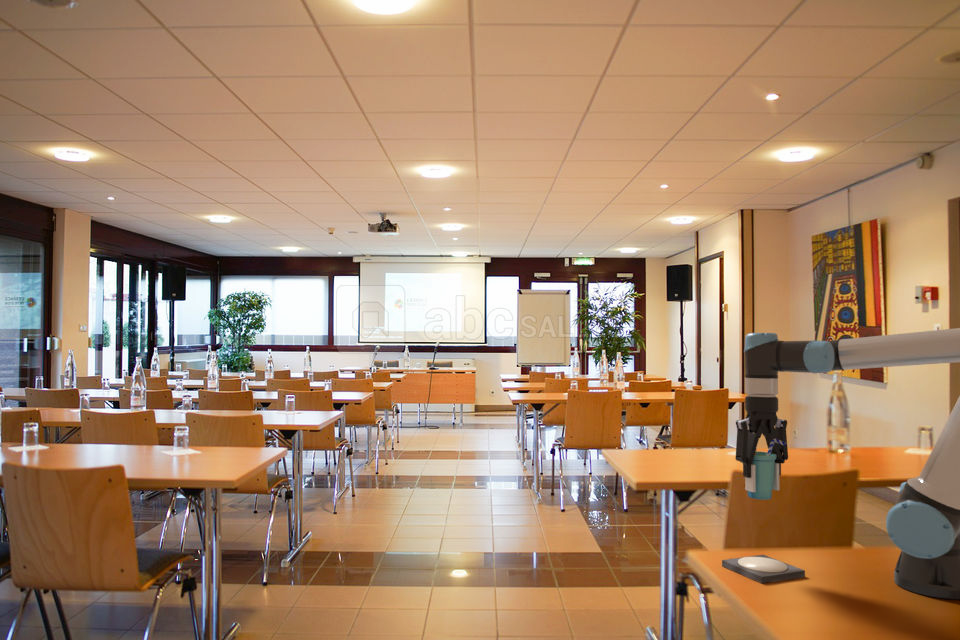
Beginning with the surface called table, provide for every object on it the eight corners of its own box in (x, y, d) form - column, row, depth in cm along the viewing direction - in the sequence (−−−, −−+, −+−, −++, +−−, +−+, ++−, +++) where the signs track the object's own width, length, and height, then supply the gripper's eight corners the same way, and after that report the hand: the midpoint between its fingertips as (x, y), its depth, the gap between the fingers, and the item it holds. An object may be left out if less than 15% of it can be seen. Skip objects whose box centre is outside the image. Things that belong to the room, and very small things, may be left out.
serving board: (805, 576, 153) (804, 569, 153) (761, 583, 149) (761, 575, 149) (763, 560, 165) (763, 553, 165) (722, 566, 161) (721, 558, 161)
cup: (798, 503, 154) (797, 439, 154) (774, 505, 151) (773, 440, 151) (752, 491, 167) (751, 432, 167) (728, 493, 163) (728, 433, 164)
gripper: (781, 393, 166) (782, 484, 165) (718, 394, 160) (719, 489, 159) (804, 396, 159) (805, 491, 158) (739, 397, 153) (740, 495, 152)
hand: (762, 490), depth 159 cm, fingers closed on cup, 6 cm apart
